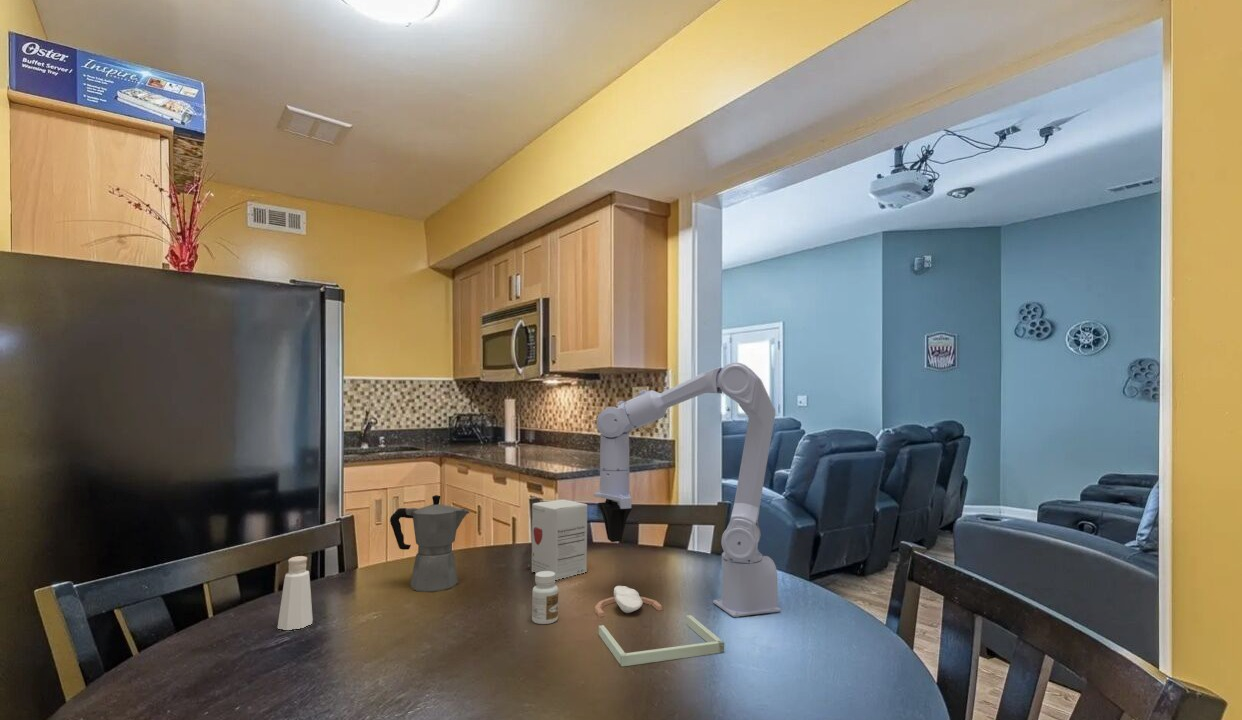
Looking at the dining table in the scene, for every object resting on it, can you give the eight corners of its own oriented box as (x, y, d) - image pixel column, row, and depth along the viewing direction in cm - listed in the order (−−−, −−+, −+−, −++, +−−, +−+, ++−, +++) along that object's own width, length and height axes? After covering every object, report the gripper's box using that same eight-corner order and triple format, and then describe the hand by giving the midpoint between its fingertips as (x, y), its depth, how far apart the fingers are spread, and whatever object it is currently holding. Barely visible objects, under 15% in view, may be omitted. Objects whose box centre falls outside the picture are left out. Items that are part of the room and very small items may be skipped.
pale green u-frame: (690, 623, 99) (690, 614, 99) (724, 652, 88) (724, 642, 88) (598, 634, 94) (598, 625, 95) (621, 666, 83) (621, 656, 83)
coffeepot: (468, 576, 126) (470, 491, 127) (467, 590, 117) (468, 497, 118) (391, 581, 123) (394, 493, 124) (384, 595, 114) (386, 500, 115)
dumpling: (612, 604, 109) (612, 582, 109) (641, 604, 109) (641, 582, 109) (614, 618, 102) (614, 594, 102) (645, 618, 102) (644, 594, 102)
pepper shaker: (318, 625, 98) (321, 557, 99) (282, 634, 94) (285, 563, 95) (306, 617, 102) (309, 552, 103) (271, 625, 98) (274, 557, 99)
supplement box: (529, 572, 129) (530, 502, 130) (562, 564, 135) (563, 498, 136) (554, 581, 123) (555, 508, 124) (588, 573, 129) (588, 503, 130)
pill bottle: (553, 625, 98) (553, 578, 99) (528, 623, 99) (528, 576, 100) (561, 616, 103) (561, 570, 103) (537, 614, 103) (537, 569, 104)
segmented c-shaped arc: (647, 597, 113) (647, 593, 113) (661, 610, 106) (661, 605, 106) (588, 603, 109) (588, 599, 109) (599, 617, 102) (599, 612, 102)
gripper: (585, 466, 121) (585, 533, 120) (605, 474, 107) (605, 551, 106) (618, 465, 123) (618, 531, 122) (642, 473, 109) (642, 548, 108)
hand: (614, 540), depth 114 cm, fingers closed
